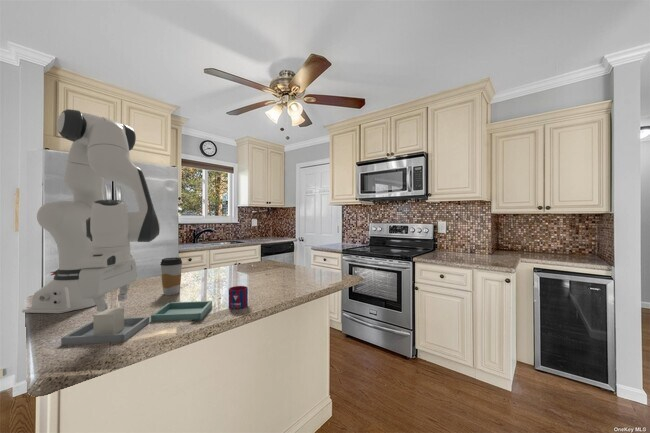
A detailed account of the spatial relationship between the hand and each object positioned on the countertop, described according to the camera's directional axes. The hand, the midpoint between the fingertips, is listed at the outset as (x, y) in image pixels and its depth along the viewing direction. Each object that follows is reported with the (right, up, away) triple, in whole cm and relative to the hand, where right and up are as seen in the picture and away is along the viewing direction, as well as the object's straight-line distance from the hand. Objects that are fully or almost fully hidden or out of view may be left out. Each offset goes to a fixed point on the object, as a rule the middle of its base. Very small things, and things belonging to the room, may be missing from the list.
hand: (113, 305), depth 79 cm
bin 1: (-1, -8, 0) cm, 8 cm away
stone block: (-1, -8, 0) cm, 8 cm away
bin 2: (+12, -8, +16) cm, 21 cm away
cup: (+28, -8, +26) cm, 39 cm away
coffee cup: (-6, -8, +41) cm, 43 cm away
